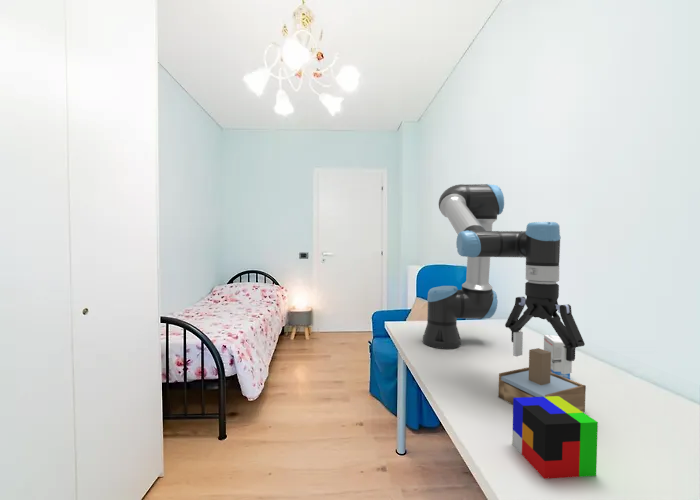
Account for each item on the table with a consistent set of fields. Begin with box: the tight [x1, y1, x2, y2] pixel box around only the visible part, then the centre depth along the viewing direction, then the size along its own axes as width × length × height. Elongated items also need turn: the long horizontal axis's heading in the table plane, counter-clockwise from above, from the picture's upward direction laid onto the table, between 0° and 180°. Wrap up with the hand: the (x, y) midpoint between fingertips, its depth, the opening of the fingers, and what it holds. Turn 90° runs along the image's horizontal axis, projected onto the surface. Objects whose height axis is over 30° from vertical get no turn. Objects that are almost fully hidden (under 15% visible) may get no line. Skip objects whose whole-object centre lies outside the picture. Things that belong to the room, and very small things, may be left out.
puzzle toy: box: [511, 396, 599, 480], centre depth 65 cm, size 10×10×10 cm
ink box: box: [543, 334, 571, 380], centre depth 105 cm, size 9×5×12 cm, turn 168°
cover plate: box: [501, 347, 578, 397], centre depth 86 cm, size 12×13×9 cm
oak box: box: [497, 366, 587, 413], centre depth 86 cm, size 14×14×6 cm
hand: (540, 363), depth 86 cm, fingers open, 13 cm apart
